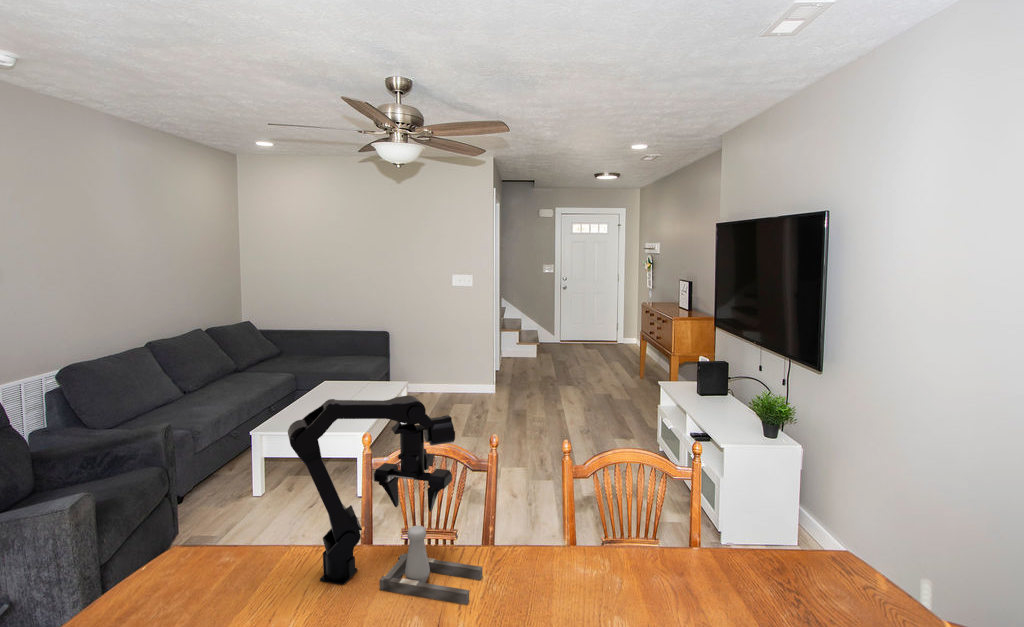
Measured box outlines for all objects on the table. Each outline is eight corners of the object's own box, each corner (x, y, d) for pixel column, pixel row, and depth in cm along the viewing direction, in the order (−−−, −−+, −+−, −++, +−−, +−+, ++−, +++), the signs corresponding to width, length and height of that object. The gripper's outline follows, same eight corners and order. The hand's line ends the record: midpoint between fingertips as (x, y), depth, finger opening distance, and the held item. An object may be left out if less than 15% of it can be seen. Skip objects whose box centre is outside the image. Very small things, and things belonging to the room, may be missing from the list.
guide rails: (379, 590, 130) (379, 577, 130) (401, 564, 141) (401, 552, 140) (466, 604, 125) (466, 592, 124) (482, 576, 135) (482, 564, 135)
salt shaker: (424, 589, 130) (423, 535, 129) (401, 586, 131) (399, 533, 130) (433, 575, 136) (432, 523, 134) (411, 572, 137) (409, 521, 136)
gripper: (459, 440, 145) (460, 499, 147) (392, 434, 150) (394, 491, 152) (442, 456, 135) (443, 519, 136) (371, 448, 139) (373, 509, 141)
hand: (413, 508), depth 142 cm, fingers open, 9 cm apart
